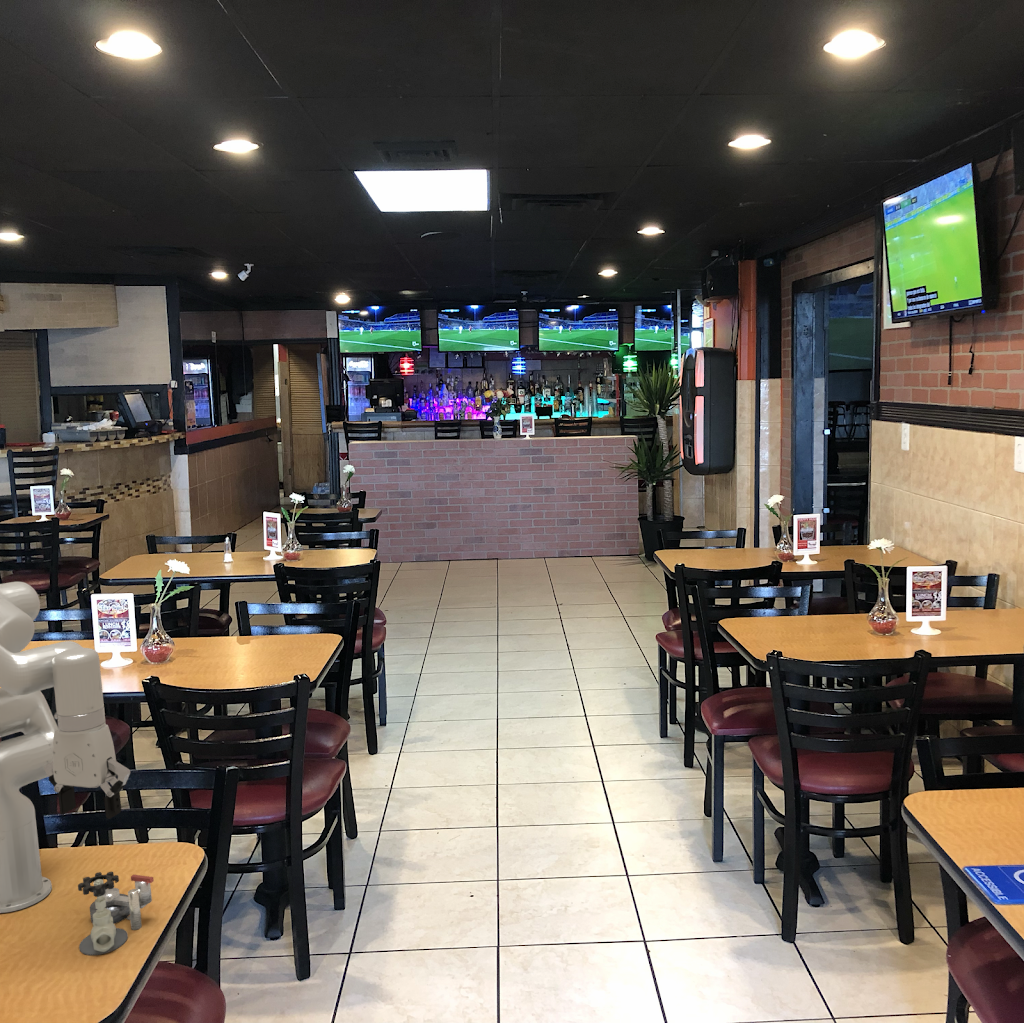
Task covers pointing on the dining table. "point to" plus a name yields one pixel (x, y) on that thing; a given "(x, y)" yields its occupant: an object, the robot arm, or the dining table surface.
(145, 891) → the crank
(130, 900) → the crank housing
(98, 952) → the mat
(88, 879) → the valve
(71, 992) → the dining table surface
